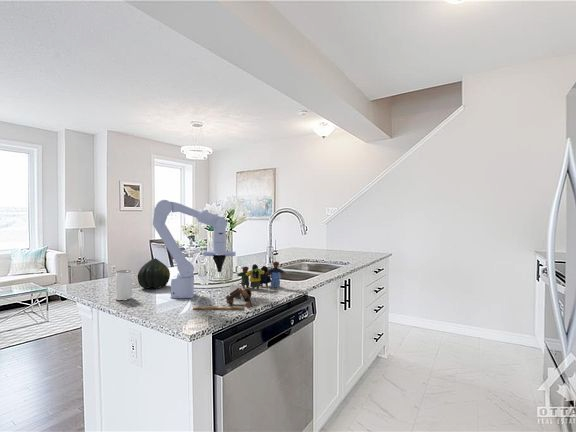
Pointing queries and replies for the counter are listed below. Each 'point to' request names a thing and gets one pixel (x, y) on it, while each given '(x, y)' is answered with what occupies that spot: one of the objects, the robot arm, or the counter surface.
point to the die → (234, 287)
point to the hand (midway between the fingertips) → (219, 271)
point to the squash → (153, 274)
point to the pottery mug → (236, 295)
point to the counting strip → (218, 308)
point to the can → (123, 285)
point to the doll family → (264, 277)
